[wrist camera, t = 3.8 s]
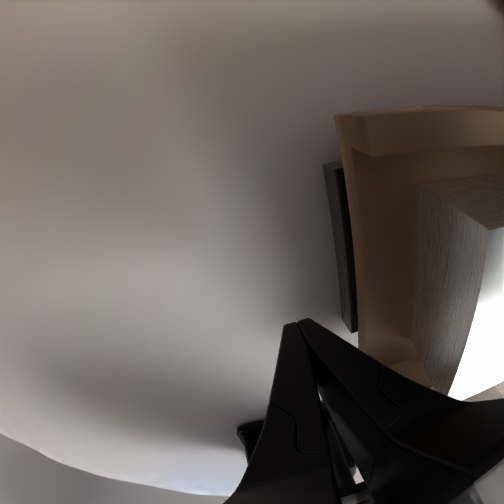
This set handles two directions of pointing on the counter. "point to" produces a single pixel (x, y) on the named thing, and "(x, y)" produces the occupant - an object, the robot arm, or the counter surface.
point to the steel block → (460, 283)
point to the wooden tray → (404, 207)
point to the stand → (342, 242)
